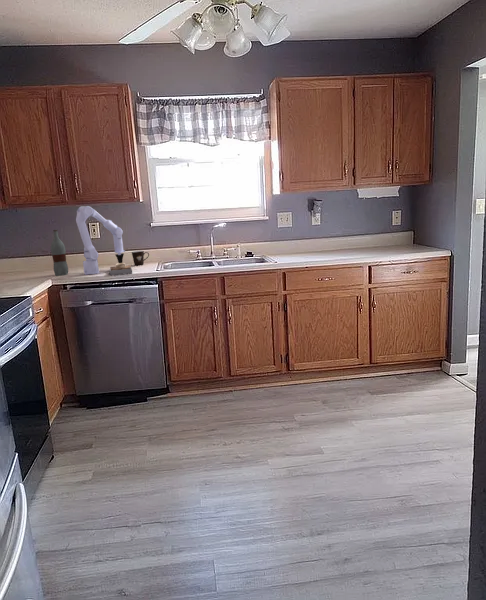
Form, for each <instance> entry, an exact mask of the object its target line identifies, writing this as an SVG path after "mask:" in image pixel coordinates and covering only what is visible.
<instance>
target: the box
mask: <svg viewBox="0 0 486 600" xmlns="http://www.w3.org/2000/svg"><path fill="white" fill-rule="evenodd" d="M132 268H133V267H132V266H131V269H124V270H113V271H111V269H110V268H109V276H119V275H120V276H121V275H131V274H133V269H132Z"/></svg>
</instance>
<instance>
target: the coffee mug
mask: <svg viewBox="0 0 486 600" xmlns="http://www.w3.org/2000/svg"><path fill="white" fill-rule="evenodd" d="M145 254H147V255H148V256H146V258H144V256H145ZM131 256H132V260H133V265H134V266H135V267H137V266H144V261H147V259H148V258H149V256H150V254H149V252H147V251H145V252H144V250H132V251H131Z"/></svg>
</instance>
